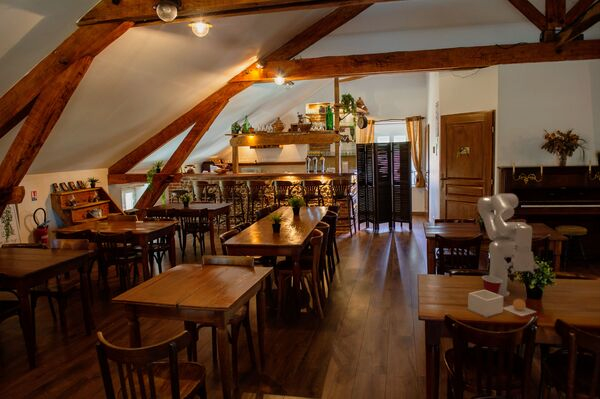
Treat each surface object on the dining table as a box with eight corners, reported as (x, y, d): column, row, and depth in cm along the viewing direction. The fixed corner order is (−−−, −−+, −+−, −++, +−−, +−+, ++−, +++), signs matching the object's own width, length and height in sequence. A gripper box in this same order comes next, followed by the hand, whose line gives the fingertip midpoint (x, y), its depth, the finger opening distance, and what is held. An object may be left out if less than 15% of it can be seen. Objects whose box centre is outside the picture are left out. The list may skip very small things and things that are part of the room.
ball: (510, 309, 228) (510, 298, 227) (517, 306, 231) (518, 296, 230) (520, 313, 223) (520, 301, 222) (527, 310, 225) (528, 299, 225)
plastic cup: (501, 303, 237) (502, 282, 236) (480, 300, 242) (481, 279, 241) (502, 297, 247) (503, 276, 245) (482, 293, 252) (483, 274, 250)
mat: (501, 309, 230) (501, 308, 229) (516, 304, 235) (516, 304, 235) (521, 317, 219) (521, 316, 219) (536, 312, 224) (536, 311, 224)
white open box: (467, 309, 230) (468, 293, 228) (483, 305, 235) (484, 289, 234) (486, 317, 219) (487, 300, 218) (502, 313, 224) (503, 296, 223)
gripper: (509, 250, 218) (507, 283, 221) (543, 250, 218) (541, 282, 220) (502, 247, 226) (501, 278, 228) (535, 246, 226) (533, 278, 228)
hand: (521, 280), depth 224 cm, fingers open, 9 cm apart
